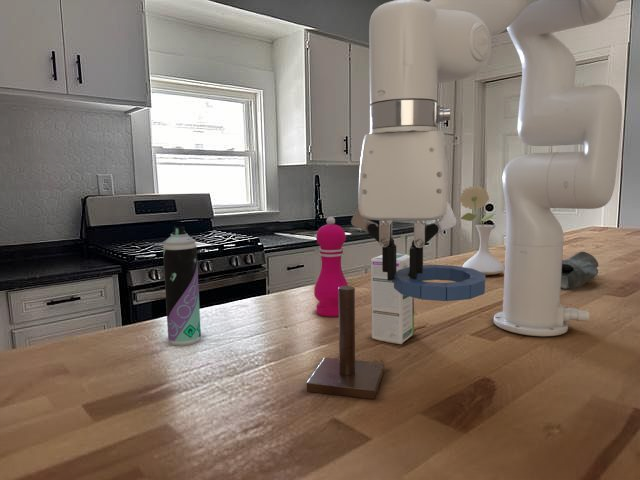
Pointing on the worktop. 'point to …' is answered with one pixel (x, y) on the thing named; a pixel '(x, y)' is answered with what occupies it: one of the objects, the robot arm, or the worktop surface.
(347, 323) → the stand
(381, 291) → the syrup box
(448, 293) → the ring
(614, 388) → the worktop surface
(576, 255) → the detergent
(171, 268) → the spray can
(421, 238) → the robot arm
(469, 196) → the flower in vase
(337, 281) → the pepper mill
